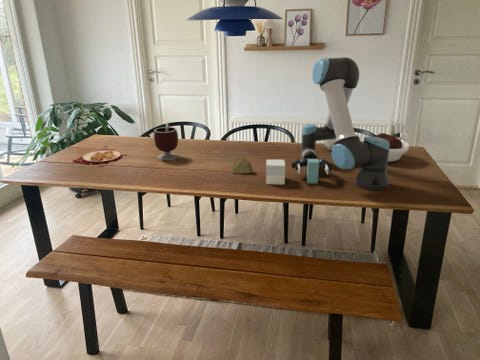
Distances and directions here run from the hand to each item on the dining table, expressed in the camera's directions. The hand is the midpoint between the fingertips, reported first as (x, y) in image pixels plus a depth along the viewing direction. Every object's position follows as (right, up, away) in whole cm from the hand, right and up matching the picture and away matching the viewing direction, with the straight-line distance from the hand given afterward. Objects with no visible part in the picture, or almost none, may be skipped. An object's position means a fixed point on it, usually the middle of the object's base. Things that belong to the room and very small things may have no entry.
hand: (313, 171), depth 185 cm
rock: (-34, 0, +19) cm, 39 cm away
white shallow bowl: (+48, +8, +37) cm, 61 cm away
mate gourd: (-79, +10, +46) cm, 92 cm away
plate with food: (-118, +8, +45) cm, 127 cm away
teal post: (0, -5, +5) cm, 7 cm away
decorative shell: (+26, +14, +54) cm, 61 cm away
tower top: (-18, 0, +5) cm, 19 cm away
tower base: (-18, -5, +7) cm, 20 cm away
